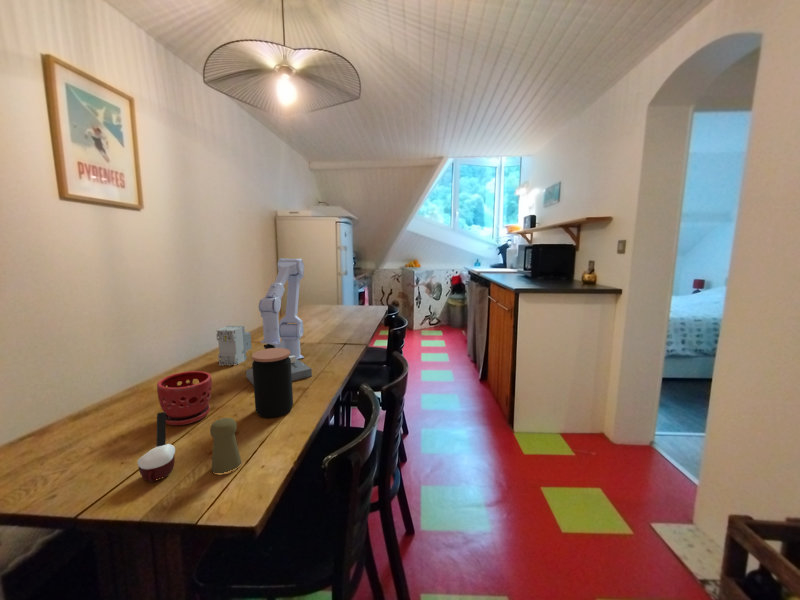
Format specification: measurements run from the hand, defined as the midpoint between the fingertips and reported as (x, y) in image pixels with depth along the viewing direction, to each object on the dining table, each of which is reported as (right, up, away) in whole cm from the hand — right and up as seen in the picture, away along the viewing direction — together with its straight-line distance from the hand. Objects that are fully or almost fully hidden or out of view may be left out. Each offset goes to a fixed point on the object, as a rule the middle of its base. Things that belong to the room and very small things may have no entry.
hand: (273, 362), depth 132 cm
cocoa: (-2, -14, -59) cm, 61 cm away
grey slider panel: (+4, -5, -4) cm, 8 cm away
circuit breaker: (-21, -2, +15) cm, 26 cm away
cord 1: (-8, -4, +1) cm, 9 cm away
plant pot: (-11, -10, -35) cm, 38 cm away
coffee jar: (+12, -9, -31) cm, 34 cm away
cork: (+11, -13, -57) cm, 59 cm away
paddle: (+7, 0, +1) cm, 7 cm away
